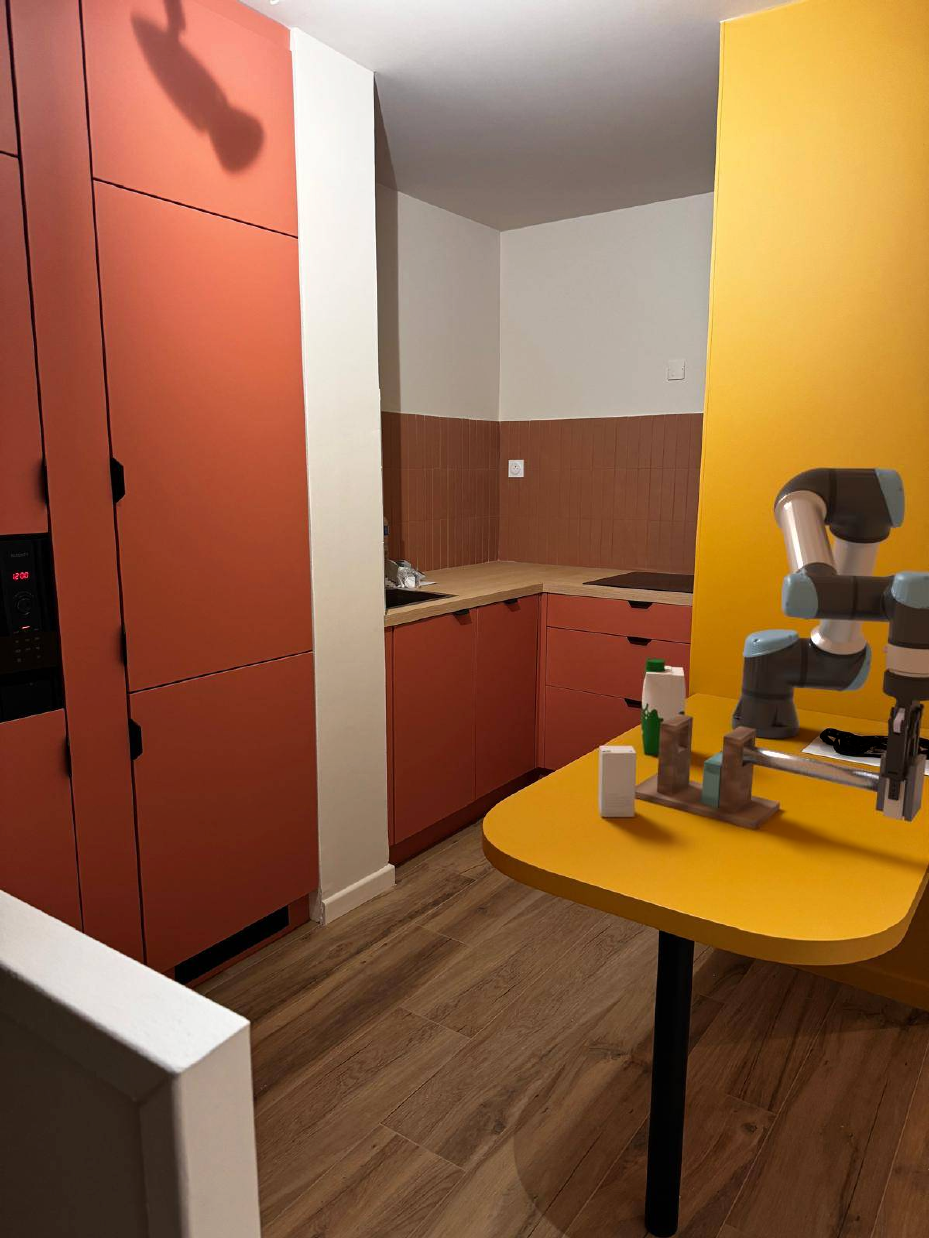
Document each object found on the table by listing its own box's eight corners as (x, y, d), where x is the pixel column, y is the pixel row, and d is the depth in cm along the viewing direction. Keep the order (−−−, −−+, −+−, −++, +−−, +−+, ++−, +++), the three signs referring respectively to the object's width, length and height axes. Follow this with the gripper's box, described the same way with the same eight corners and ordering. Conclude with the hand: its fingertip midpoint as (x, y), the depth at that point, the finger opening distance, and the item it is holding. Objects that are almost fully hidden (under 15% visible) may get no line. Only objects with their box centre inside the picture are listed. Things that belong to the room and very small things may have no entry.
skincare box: (630, 808, 157) (633, 744, 155) (635, 818, 153) (638, 752, 150) (596, 808, 157) (598, 744, 155) (599, 818, 153) (602, 752, 151)
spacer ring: (701, 804, 156) (703, 761, 155) (718, 791, 162) (721, 750, 161) (717, 808, 154) (720, 765, 153) (734, 795, 161) (737, 753, 159)
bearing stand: (629, 795, 163) (632, 721, 160) (657, 778, 172) (661, 707, 170) (755, 829, 148) (761, 748, 146) (779, 808, 158) (785, 731, 155)
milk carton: (639, 742, 194) (644, 655, 190) (681, 745, 192) (686, 657, 189) (639, 755, 186) (644, 664, 182) (683, 758, 184) (688, 666, 180)
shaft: (727, 778, 153) (730, 729, 151) (742, 767, 158) (745, 720, 157) (911, 821, 135) (917, 766, 133) (920, 808, 141) (926, 755, 139)
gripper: (897, 658, 144) (883, 791, 149) (871, 677, 131) (856, 823, 135) (948, 665, 140) (932, 802, 144) (926, 686, 126) (909, 836, 131)
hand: (896, 812), depth 140 cm, fingers closed on shaft, 4 cm apart
